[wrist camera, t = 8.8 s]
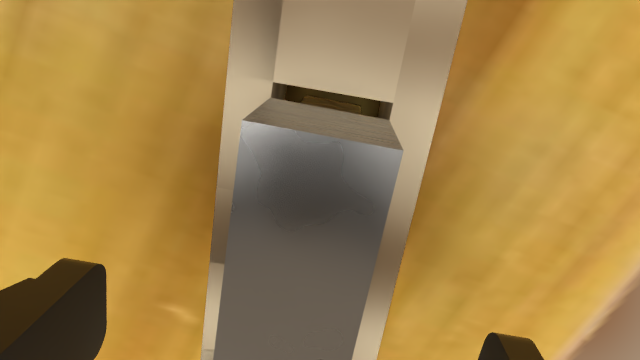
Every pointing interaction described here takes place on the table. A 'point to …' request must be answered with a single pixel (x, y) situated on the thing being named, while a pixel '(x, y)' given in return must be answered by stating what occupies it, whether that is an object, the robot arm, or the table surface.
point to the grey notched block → (304, 229)
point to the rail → (349, 79)
